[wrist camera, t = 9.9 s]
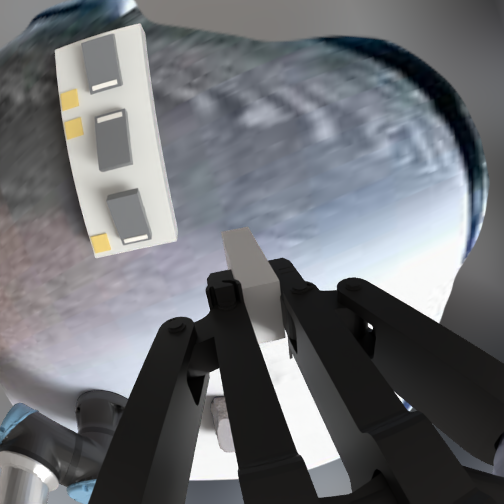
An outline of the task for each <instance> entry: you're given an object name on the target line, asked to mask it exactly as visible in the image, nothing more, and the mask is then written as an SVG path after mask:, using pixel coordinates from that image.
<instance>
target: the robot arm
mask: <svg viewBox="0 0 504 504" xmlns="http://www.w3.org/2000/svg"><path fill="white" fill-rule="evenodd" d="M221 234H222V239H223V245H224V250H225V255H226V261H227V266H228V270H225V271H220V272H215V273H211V274H210V275H209V277H208V278H207V284H208V286H207V287H206V295H207V299H208V303H209V307H210V312H209V314H208V315H207V316H205V317H204V318H203V319H201V320H199V321H196V322H193V321H192V320H191V319H190V318H187V317H175V318H172V319H170V320H167V321H166V322H165V323H163V324H162V325H161V327H160V328H159V330H158V333H157V335H156V337H155V339H154V341H153V344H152V346H151V348H150V350H149V353H148V355H147V357H146V359H145V362H144V364H143V366H142V368H141V371H140V373H139V375H138V378H137V380H136V382H135V385H134V387H133V389H132V392H131V394H130V396H129V399H126V398H125V397H123V396H121V395H118V394H115V393H112V392H107V391H90V392H86V393H84V394H82V395H81V396H80V397H79V399H78V401H77V405H76V409H75V413H76V420H77V427H78V433H76V432H74V431H72V430H70V429H68V428H66V427H64V426H62V425H60V424H59V423H57V422H55V421H53V420H51V419H49V418H48V417H46V416H44V415H43V414H41V413H39V411H38V410H34V409H32V408H30V407H28V406H27V405H25V404H23V403H17V404H15V405H14V406H13V407H12V408H11V409H10V411H9V412H8V414H7V415H6V417H5V419H4V420H3V422H2V424H1V427H0V467H1V469H2V472H1V476H0V504H47V500H48V493H49V492H50V491H53V490H55V489H57V488H58V486H59V484H61V485H64V486H66V487H67V492H68V495H69V496H70V497H71V498H73V499H74V500H75V501H78V502H80V503H83V504H185V499H186V494H187V488H188V483H189V478H190V473H191V468H192V463H193V457H194V452H195V447H196V442H197V437H198V432H199V427H200V422H201V417H202V412H203V407H204V402H205V397H206V392H207V387H208V383H209V378H210V377H209V372H212V371H214V370H216V369H218V368H220V374H221V380H222V386H223V391H224V397H225V402H226V407H227V413H228V418H229V423H230V428H231V433H232V438H233V443H234V448H235V453H236V458H237V462H238V477H239V482H240V487H241V491H242V495H243V500H244V504H504V363H502V362H500V361H499V360H497V359H496V358H494V357H493V356H491V355H489V354H488V353H486V352H485V351H483V350H481V349H480V348H478V347H477V346H475V345H473V344H472V343H470V342H468V341H467V340H465V339H464V338H462V337H460V336H459V335H457V334H455V333H454V332H452V331H451V330H449V329H447V328H446V327H444V326H442V325H441V324H439V323H437V322H436V321H434V320H432V319H431V318H429V317H427V316H426V315H424V314H422V313H421V312H419V311H417V310H416V309H414V308H412V307H411V306H409V305H407V304H406V303H404V302H402V301H400V300H399V299H397V298H395V297H394V296H392V295H390V294H388V293H387V292H385V291H383V290H382V289H380V288H378V287H376V286H375V285H373V284H371V283H369V282H368V281H366V280H363V279H361V278H355V277H353V278H347V279H343V280H342V281H340V282H339V283H338V284H337V290H333V291H320V290H319V289H318V288H317V287H316V285H314V284H313V283H311V282H308V281H304V279H303V278H302V277H301V275H300V274H299V273H298V271H297V270H296V268H295V267H294V266H293V264H292V263H291V262H290V261H289V260H287V259H285V258H279V259H274V260H269V261H268V260H267V259H266V257H265V255H264V254H263V252H262V250H261V248H260V247H259V245H258V243H257V242H256V240H255V238H254V236H253V235H252V233H251V231H250V230H249V228H248V227H244V228H239V229H234V230H229V231H224V232H221ZM368 323H369V324H371V325H372V326H373V330H372V329H370V328H369V327H368ZM284 328H285V329H284ZM285 330H286V332H287V335H288V345H289V355H290V359H291V358H293V357H292V354H293V356H294V358H295V360H296V362H297V364H298V367H299V369H300V371H301V373H302V375H303V377H304V380H305V382H306V384H307V386H308V388H309V390H310V393H311V395H312V397H313V399H314V401H315V404H316V406H317V408H318V410H319V412H320V414H321V417H322V419H323V421H324V423H325V425H326V427H327V430H328V432H329V434H330V436H331V438H332V440H333V442H334V445H335V447H336V449H337V451H338V453H339V455H340V458H341V460H342V462H343V464H344V466H345V468H346V470H347V473H348V475H349V478H350V482H351V489H352V492H353V493H350V494H347V495H340V496H332V497H324V498H318V496H317V493H316V491H315V488H314V485H313V483H312V480H311V478H310V475H309V472H308V470H307V467H306V465H305V462H304V460H303V458H302V457H301V455H299V454H298V453H297V450H296V448H295V445H294V442H293V440H292V437H291V434H290V431H289V429H288V426H287V423H286V420H285V418H284V415H283V412H282V409H281V406H280V404H279V401H278V398H277V395H276V392H275V390H274V387H273V384H272V381H271V378H270V375H269V373H268V370H267V367H266V364H265V361H264V358H263V355H262V352H261V350H260V347H259V344H261V343H266V342H270V341H274V340H278V339H282V338H285ZM395 392H396V393H397V394H398V395H399V396H400V397H401V398H403V399H404V400H405V401H406V402H407V403H409V404H410V405H411V406H412V407H413V408H415V409H416V410H417V411H415V412H409V411H408V410H407V409H406V408H405V406H404V405H403V404H402V402H401V401H400V399H399V398H398V397H397V395H396V394H395ZM432 423H433V424H434V425H435V426H436V427H437V428H439V429H440V430H441V431H442V432H443V433H445V434H446V435H447V436H448V437H449V438H451V439H452V440H453V441H454V442H456V443H457V444H458V445H459V446H460V447H462V448H463V449H464V450H466V451H467V452H469V453H470V454H471V455H472V456H474V457H476V458H478V459H480V460H481V461H483V462H485V463H487V464H490V465H493V466H494V469H493V471H492V474H489V473H486V472H482V471H479V470H475V469H472V468H468V467H465V466H462V465H461V464H460V462H459V461H458V459H457V458H456V457H455V455H454V454H453V452H452V451H451V450H450V448H449V447H448V445H447V444H446V443H445V441H444V440H443V438H442V437H441V436H440V434H439V433H438V431H437V430H436V429H435V427H434V426H433V425H432Z"/></svg>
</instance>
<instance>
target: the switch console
mask: <svg viewBox="0 0 504 504" xmlns="http://www.w3.org/2000/svg"><path fill="white" fill-rule="evenodd" d="M112 33H113V34H115V39H116V46H117V52H118V59H119V64H120V70H121V76H122V81H123V85H122V86H119V87H116V88H112V89H108V90H105V91H102V92H98V93H95V94H92V95H91V94H90V89H89V84H88V79H87V74H86V69H85V63H84V58H83V52H82V46H81V43H83V42H86V41H89V40H93V39H96V38H99V37H102V36H105V35H109V34H112ZM55 59H56V71H57V81H58V91H59V99H60V106H61V113H62V120H63V126H64V132H65V138H66V144H67V149H68V154H69V159H70V164H71V168H72V173H73V178H74V182H75V186H76V190H77V194H78V198H79V202H80V206H81V210H82V214H83V217H84V221H85V225H86V228H87V231H88V235H89V238H90V242H91V245H92V248H93V251H94V254H95V257H96V258H99V257H104V256H109V255H113V254H118V253H122V252H127V251H132V250H136V249H141V248H146V247H151V246H156V245H160V244H165V243H170V242H175V241H177V234H178V228H177V223H176V219H175V214H174V209H173V205H172V200H171V195H170V190H169V185H168V180H167V175H166V169H165V164H164V159H163V153H162V148H161V142H160V136H159V130H158V124H157V118H156V112H155V105H154V99H153V92H152V85H151V78H150V71H149V63H148V55H147V47H146V38H145V33H144V30H143V28H142V26H141V24H135V25H131V26H127V27H123V28H120V29H116V30H112V31H109V32H106V33H102V34H99V35H96V36H93V37H90V38H87V39H84V40H81V41H78V42H75V43H72V44H69V45H67V46H64V47H61V48H59V49H56V50H55ZM124 108H125V109H126V111H127V113H128V123H129V133H130V142H131V150H132V158H133V165H129V166H125V167H121V168H117V169H113V170H109V171H106V172H101V171H100V170H99V165H98V156H97V145H96V133H95V116H99V115H102V114H106V113H109V112H113V111H116V110H120V109H124ZM135 188H138V189H139V192H140V196H141V199H142V202H143V206H144V209H145V212H146V216H147V219H148V222H149V225H150V228H151V231H152V239H151V240H146V241H142V242H137V243H132V244H128V245H123V244H122V241H121V239H120V236H119V234H118V231H117V229H116V226H115V224H114V221H113V218H112V216H111V213H110V210H109V208H108V205H107V202H106V200H107V196H108V195H110V194H114V193H118V192H122V191H127V190H131V189H135Z"/></svg>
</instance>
